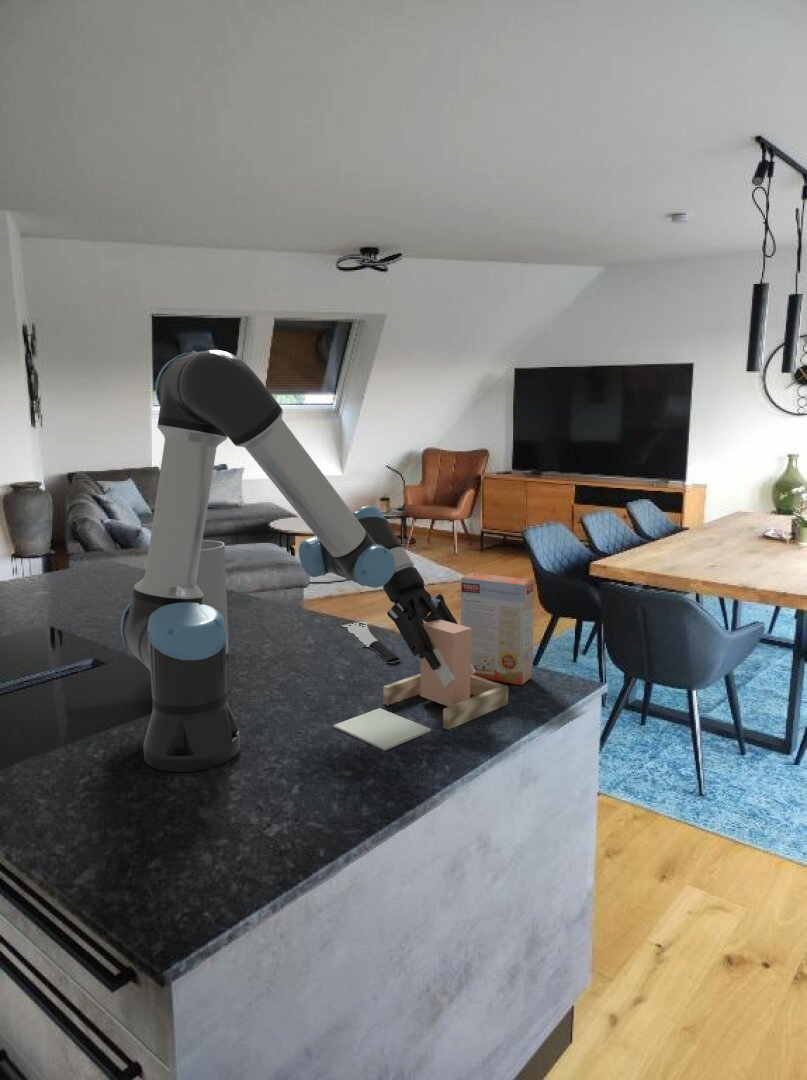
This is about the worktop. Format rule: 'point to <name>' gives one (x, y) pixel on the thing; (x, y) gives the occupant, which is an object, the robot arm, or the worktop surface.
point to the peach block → (448, 663)
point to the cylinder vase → (213, 578)
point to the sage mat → (382, 728)
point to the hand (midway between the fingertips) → (460, 678)
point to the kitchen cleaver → (372, 641)
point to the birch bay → (483, 702)
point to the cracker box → (499, 625)
